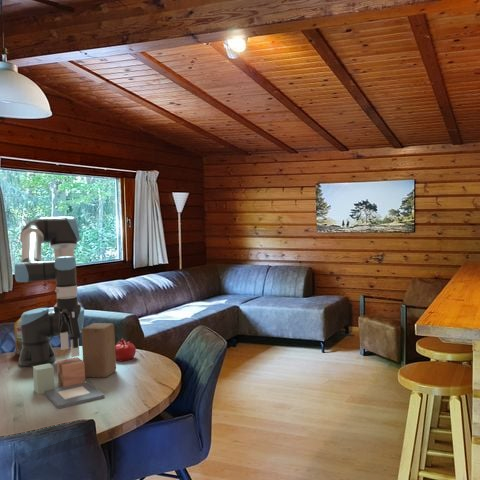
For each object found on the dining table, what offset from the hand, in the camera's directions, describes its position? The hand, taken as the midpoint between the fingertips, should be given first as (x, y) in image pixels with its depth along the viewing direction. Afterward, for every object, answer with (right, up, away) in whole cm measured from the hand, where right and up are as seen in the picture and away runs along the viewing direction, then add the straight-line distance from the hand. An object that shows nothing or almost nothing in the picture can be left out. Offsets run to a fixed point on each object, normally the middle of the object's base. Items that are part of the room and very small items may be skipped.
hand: (70, 352), depth 196 cm
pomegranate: (+13, -10, +33) cm, 37 cm away
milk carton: (-34, -11, +49) cm, 61 cm away
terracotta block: (0, -13, +1) cm, 13 cm away
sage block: (-8, -13, -5) cm, 16 cm away
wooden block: (+8, -12, +13) cm, 19 cm away
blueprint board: (+5, -13, -11) cm, 18 cm away
